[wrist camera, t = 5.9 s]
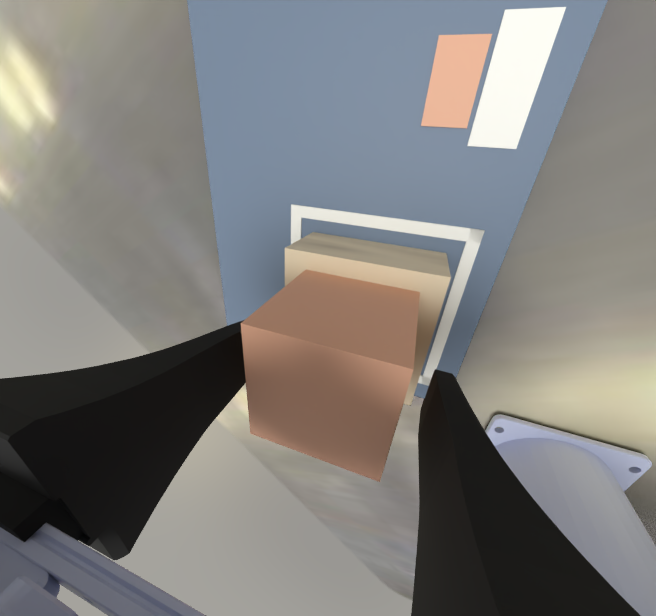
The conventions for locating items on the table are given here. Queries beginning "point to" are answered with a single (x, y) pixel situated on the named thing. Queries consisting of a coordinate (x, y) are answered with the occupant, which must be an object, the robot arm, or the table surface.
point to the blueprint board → (381, 133)
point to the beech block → (379, 277)
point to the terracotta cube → (331, 368)
